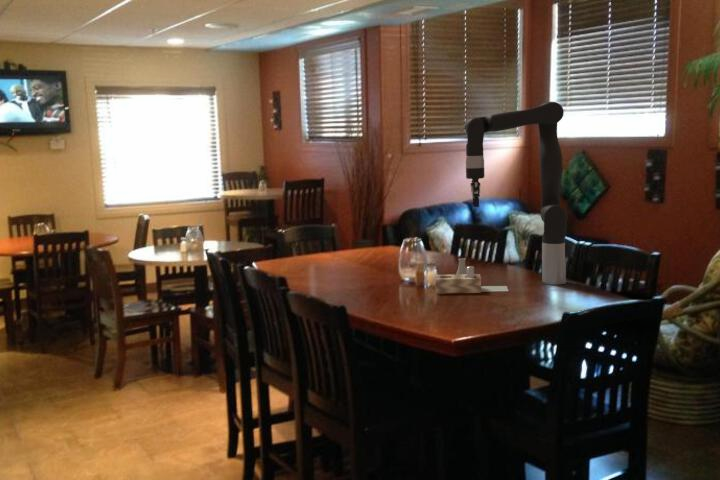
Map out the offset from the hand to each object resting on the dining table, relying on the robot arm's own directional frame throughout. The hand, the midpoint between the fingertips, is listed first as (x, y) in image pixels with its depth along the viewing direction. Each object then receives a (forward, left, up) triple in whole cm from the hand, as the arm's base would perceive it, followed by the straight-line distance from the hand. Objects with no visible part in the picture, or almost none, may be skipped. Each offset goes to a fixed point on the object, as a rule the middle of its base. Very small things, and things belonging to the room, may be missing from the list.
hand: (475, 206), depth 297 cm
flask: (+6, -10, -34) cm, 36 cm away
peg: (+3, +10, -34) cm, 35 cm away
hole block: (+8, +10, -34) cm, 36 cm away
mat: (-6, +8, -34) cm, 35 cm away
